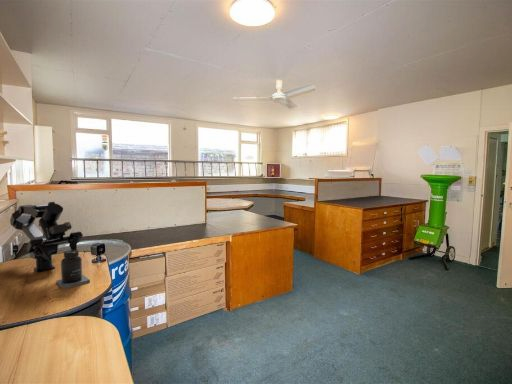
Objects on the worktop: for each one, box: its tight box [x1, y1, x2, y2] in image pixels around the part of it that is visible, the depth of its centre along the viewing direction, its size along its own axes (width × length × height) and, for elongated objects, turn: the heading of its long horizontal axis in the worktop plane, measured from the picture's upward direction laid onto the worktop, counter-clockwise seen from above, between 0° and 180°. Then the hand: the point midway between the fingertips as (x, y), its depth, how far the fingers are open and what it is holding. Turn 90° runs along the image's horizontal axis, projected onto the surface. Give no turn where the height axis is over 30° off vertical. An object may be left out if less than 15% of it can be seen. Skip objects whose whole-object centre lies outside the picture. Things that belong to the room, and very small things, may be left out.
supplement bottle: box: [60, 249, 83, 283], centre depth 104 cm, size 7×7×12 cm
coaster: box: [55, 273, 91, 290], centre depth 105 cm, size 9×9×1 cm
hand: (63, 257), depth 108 cm, fingers open, 9 cm apart
